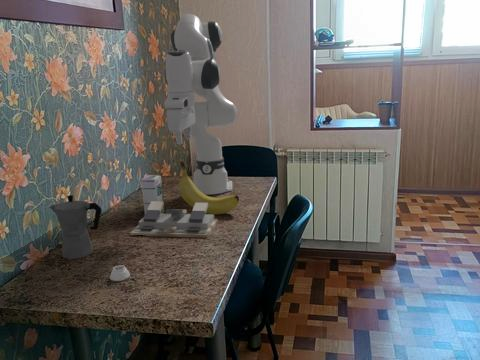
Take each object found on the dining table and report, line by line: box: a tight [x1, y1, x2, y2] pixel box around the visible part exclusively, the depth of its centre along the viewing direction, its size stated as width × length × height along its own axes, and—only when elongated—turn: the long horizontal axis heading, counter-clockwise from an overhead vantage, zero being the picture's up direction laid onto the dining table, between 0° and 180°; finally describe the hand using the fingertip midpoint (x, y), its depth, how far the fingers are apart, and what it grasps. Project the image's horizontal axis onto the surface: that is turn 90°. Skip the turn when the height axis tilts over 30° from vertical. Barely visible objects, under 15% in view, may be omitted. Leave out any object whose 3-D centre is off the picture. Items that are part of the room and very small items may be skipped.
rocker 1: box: [142, 200, 165, 222], centre depth 150 cm, size 9×4×2 cm, turn 170°
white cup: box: [109, 264, 131, 282], centre depth 113 cm, size 5×3×5 cm
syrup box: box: [140, 174, 166, 215], centre depth 162 cm, size 6×6×14 cm
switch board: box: [129, 218, 219, 239], centre depth 147 cm, size 15×26×2 cm, turn 80°
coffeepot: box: [49, 194, 103, 260], centre depth 128 cm, size 15×9×18 cm, turn 85°
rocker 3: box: [189, 203, 208, 222], centre depth 147 cm, size 9×4×2 cm, turn 170°
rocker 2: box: [165, 208, 188, 217], centre depth 148 cm, size 9×4×2 cm, turn 170°
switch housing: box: [138, 212, 215, 229], centre depth 149 cm, size 9×24×2 cm, turn 80°
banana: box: [178, 160, 240, 215], centre depth 159 cm, size 23×6×20 cm, turn 78°
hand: (184, 141), depth 149 cm, fingers open, 8 cm apart
